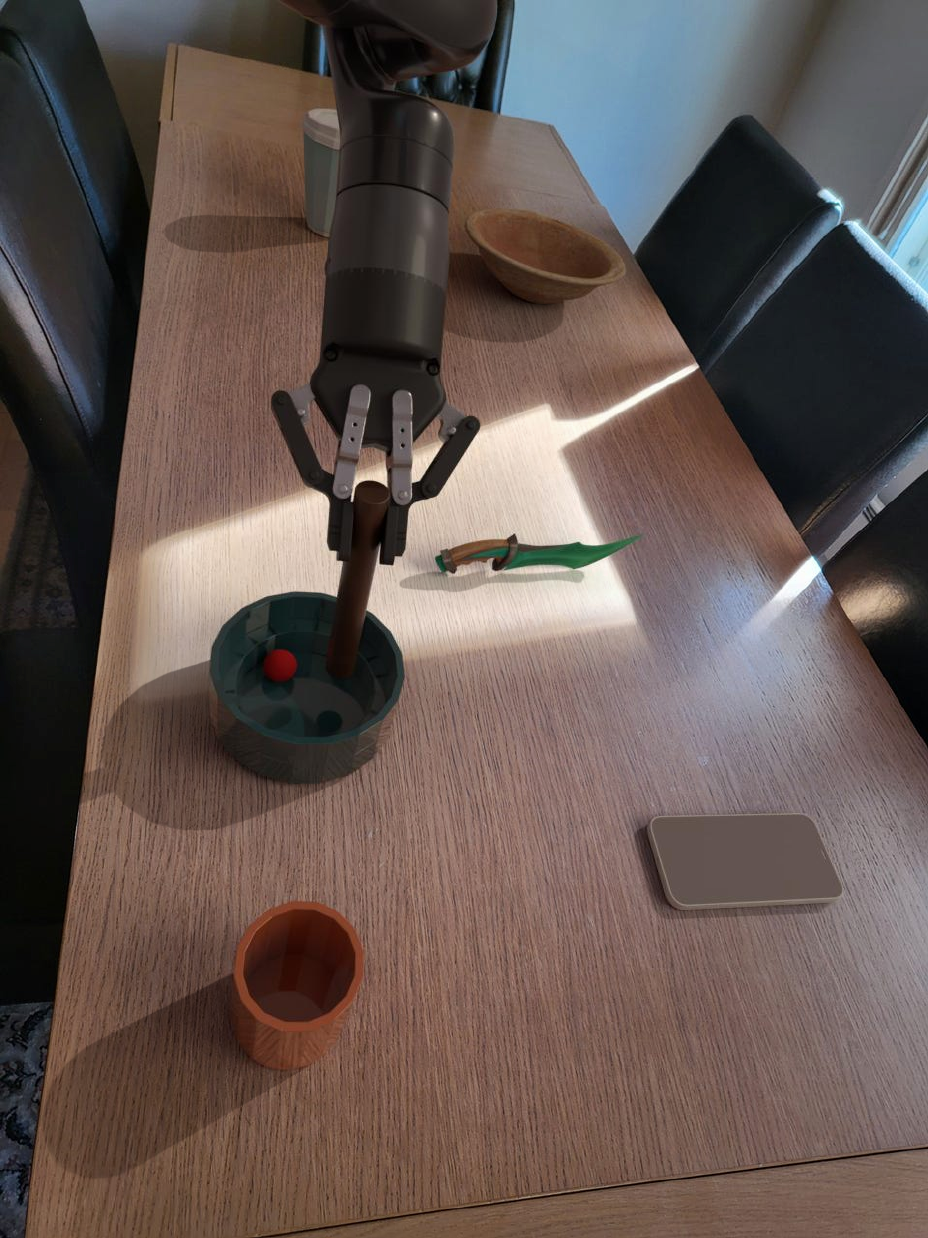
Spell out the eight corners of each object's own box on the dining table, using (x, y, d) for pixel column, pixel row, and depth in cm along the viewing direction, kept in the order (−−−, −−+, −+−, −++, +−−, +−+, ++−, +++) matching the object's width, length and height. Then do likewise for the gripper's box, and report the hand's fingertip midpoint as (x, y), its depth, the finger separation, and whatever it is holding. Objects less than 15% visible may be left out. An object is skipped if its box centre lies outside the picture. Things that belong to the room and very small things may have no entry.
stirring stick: (331, 682, 63) (362, 505, 50) (321, 660, 64) (349, 481, 51) (358, 675, 64) (396, 500, 51) (347, 654, 65) (382, 477, 52)
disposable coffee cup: (283, 209, 121) (291, 96, 111) (353, 212, 126) (366, 103, 115) (306, 245, 116) (316, 130, 105) (377, 247, 120) (394, 136, 110)
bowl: (637, 312, 126) (658, 261, 120) (541, 350, 112) (559, 295, 106) (524, 239, 134) (538, 188, 128) (420, 266, 120) (431, 211, 114)
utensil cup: (250, 1091, 48) (256, 1055, 42) (217, 975, 52) (218, 926, 46) (362, 1040, 51) (382, 1000, 45) (324, 934, 55) (337, 884, 49)
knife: (434, 581, 78) (445, 543, 75) (429, 567, 80) (440, 529, 76) (630, 573, 86) (649, 538, 82) (623, 560, 87) (642, 526, 83)
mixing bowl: (240, 811, 59) (242, 767, 55) (189, 659, 66) (188, 610, 62) (419, 757, 65) (434, 714, 61) (354, 624, 73) (363, 577, 68)
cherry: (268, 691, 65) (269, 672, 64) (258, 666, 67) (259, 646, 65) (299, 684, 67) (302, 664, 65) (289, 659, 68) (291, 639, 66)
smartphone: (646, 815, 66) (810, 812, 69) (642, 821, 66) (805, 817, 70) (674, 907, 61) (848, 898, 64) (669, 912, 61) (842, 903, 65)
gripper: (272, 243, 46) (251, 554, 47) (510, 284, 49) (485, 573, 51) (272, 285, 53) (253, 553, 55) (479, 318, 57) (457, 570, 58)
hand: (365, 561), depth 53 cm, fingers closed on stirring stick, 2 cm apart
